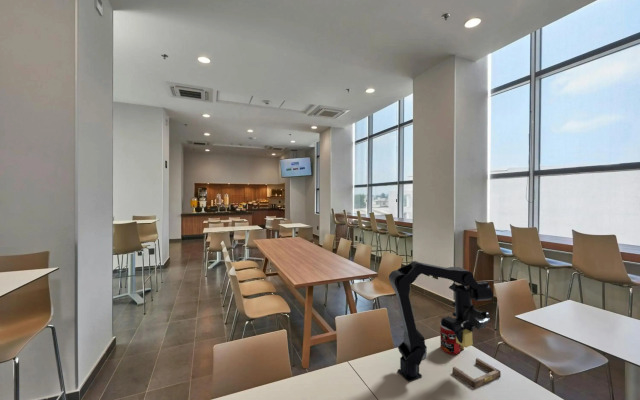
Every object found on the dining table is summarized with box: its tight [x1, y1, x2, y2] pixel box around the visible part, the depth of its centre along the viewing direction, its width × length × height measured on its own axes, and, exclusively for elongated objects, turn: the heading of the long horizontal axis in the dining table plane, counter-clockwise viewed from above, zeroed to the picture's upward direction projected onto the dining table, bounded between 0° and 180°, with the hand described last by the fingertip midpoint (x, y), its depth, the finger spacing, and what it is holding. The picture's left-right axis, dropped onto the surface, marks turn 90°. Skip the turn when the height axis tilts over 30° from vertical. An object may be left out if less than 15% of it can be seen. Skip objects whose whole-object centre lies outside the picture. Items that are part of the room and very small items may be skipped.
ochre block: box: [456, 329, 474, 349], centre depth 101 cm, size 4×4×5 cm
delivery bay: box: [452, 357, 502, 389], centre depth 99 cm, size 14×9×2 cm, turn 114°
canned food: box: [439, 324, 461, 355], centre depth 115 cm, size 8×8×11 cm
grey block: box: [422, 345, 428, 360], centre depth 111 cm, size 4×4×5 cm
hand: (464, 341), depth 101 cm, fingers closed on ochre block, 4 cm apart
